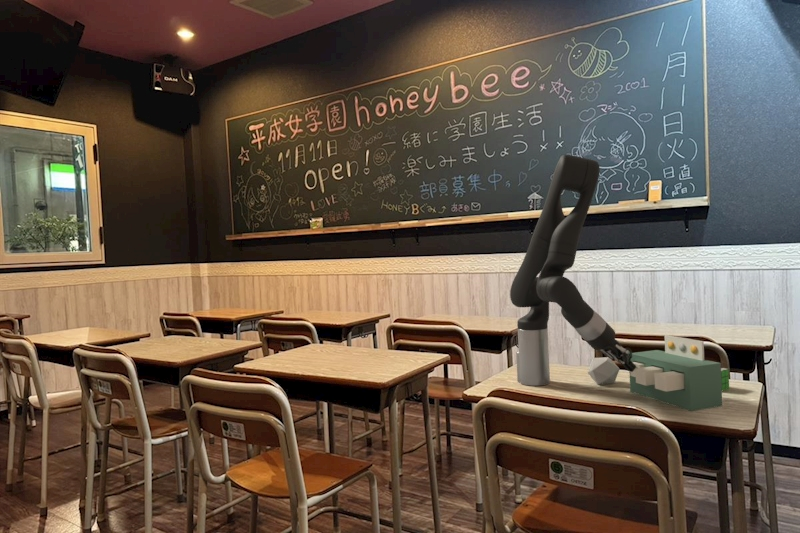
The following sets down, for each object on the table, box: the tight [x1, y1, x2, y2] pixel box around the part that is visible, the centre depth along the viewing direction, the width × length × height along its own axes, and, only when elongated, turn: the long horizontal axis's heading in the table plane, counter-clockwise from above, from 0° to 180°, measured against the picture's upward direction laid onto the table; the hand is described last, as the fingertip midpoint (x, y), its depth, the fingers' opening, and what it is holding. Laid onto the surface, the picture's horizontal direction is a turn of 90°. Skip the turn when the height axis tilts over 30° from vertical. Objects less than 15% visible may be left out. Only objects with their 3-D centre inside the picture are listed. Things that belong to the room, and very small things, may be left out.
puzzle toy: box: [721, 367, 730, 391], centre depth 160 cm, size 6×6×6 cm
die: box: [587, 356, 620, 386], centre depth 172 cm, size 8×9×10 cm
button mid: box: [635, 366, 664, 386], centre depth 150 cm, size 4×6×4 cm, turn 107°
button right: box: [654, 371, 685, 392], centre depth 143 cm, size 4×6×4 cm, turn 107°
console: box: [628, 334, 723, 412], centre depth 152 cm, size 22×10×16 cm, turn 17°
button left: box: [629, 362, 645, 377], centre depth 158 cm, size 4×6×4 cm, turn 107°
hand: (632, 368), depth 157 cm, fingers closed
